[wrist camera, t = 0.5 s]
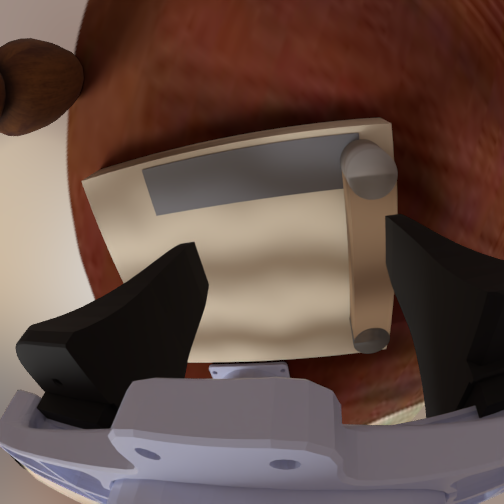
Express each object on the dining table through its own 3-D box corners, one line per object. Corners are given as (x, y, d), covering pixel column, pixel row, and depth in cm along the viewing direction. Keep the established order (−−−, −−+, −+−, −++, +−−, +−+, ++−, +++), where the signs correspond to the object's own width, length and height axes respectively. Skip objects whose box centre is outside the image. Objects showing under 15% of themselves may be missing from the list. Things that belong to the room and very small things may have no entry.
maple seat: (381, 328, 27) (386, 349, 24) (172, 343, 30) (164, 362, 28) (379, 117, 18) (391, 123, 15) (99, 169, 22) (80, 181, 19)
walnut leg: (337, 141, 16) (344, 152, 14) (382, 137, 16) (396, 147, 14) (349, 331, 23) (352, 355, 21) (382, 326, 23) (388, 350, 20)
